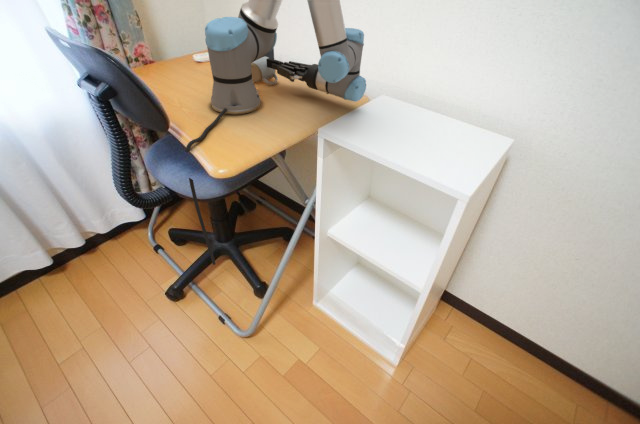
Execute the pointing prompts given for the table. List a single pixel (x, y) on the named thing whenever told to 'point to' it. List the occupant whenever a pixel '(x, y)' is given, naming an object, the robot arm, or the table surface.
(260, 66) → the ceramic mug
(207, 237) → the robot arm
